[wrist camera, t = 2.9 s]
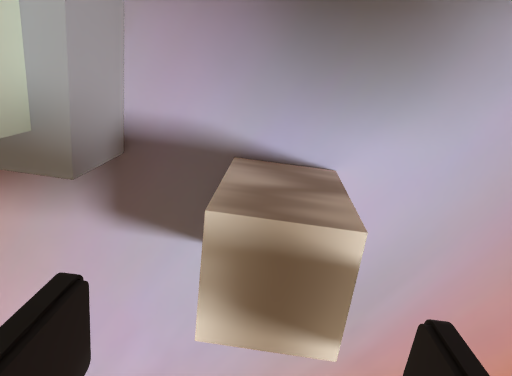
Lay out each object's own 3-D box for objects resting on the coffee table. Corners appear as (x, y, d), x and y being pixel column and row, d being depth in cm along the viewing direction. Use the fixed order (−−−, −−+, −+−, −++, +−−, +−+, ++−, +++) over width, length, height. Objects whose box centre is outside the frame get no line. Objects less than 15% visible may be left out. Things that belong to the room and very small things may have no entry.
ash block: (335, 170, 17) (367, 233, 11) (317, 260, 19) (336, 362, 12) (234, 157, 18) (204, 210, 11) (225, 247, 19) (194, 340, 13)
